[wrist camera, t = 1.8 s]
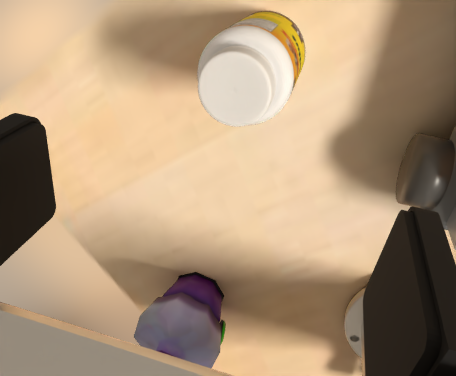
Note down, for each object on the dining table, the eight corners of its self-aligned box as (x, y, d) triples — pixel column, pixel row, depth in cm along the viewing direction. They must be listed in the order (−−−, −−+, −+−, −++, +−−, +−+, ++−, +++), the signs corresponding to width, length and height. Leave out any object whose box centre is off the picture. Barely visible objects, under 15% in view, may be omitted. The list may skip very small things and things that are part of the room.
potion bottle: (240, 326, 45) (207, 435, 35) (167, 315, 47) (117, 414, 37) (235, 265, 40) (196, 369, 30) (155, 256, 43) (94, 350, 33)
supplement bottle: (298, 94, 30) (277, 151, 22) (227, 81, 31) (179, 130, 23) (314, 15, 27) (297, 44, 19) (235, 3, 28) (184, 26, 20)
